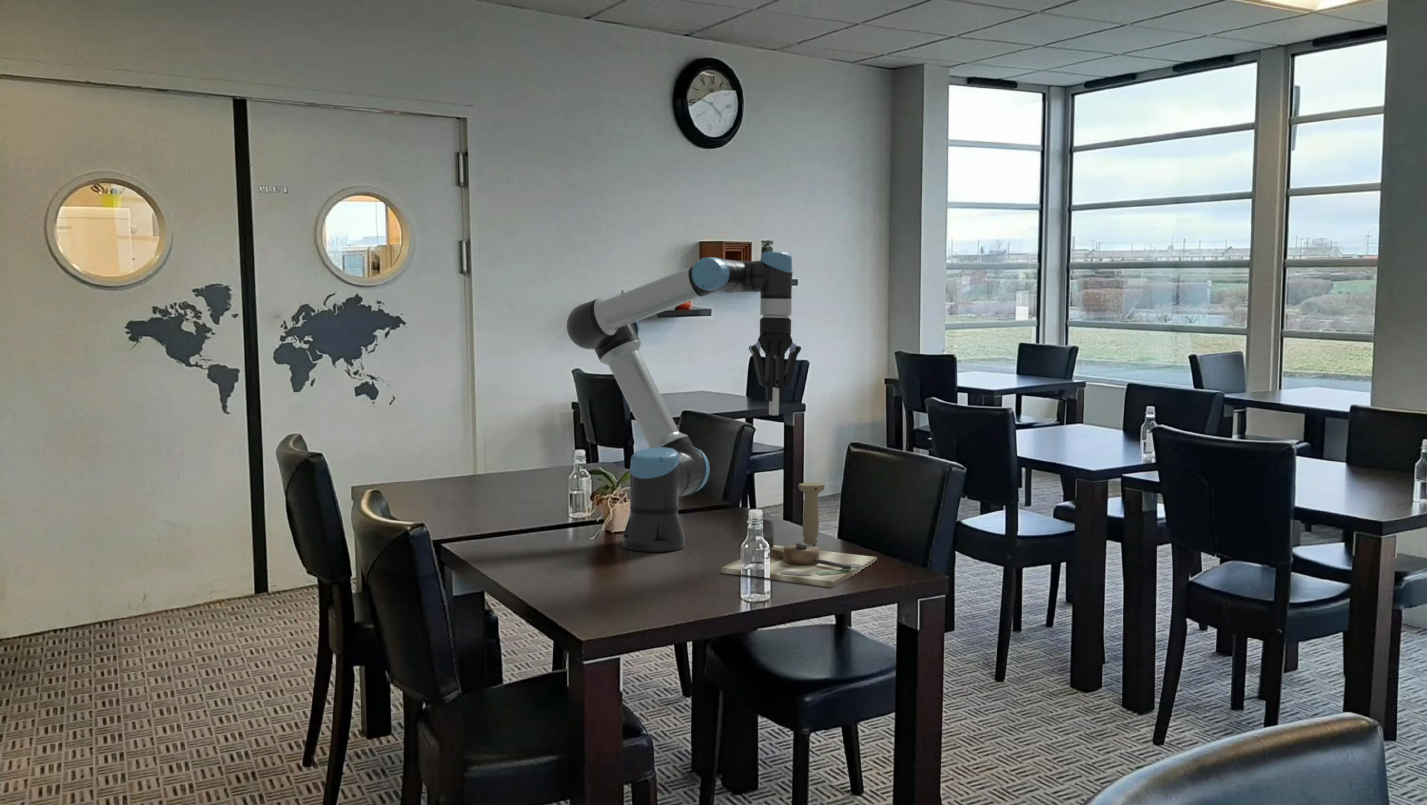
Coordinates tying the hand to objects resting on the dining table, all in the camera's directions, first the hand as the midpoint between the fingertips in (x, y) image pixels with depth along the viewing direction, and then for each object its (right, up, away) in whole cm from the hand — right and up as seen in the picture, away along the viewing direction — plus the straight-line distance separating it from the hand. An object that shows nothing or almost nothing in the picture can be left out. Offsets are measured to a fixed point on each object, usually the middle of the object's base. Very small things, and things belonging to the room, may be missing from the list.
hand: (773, 414), depth 269 cm
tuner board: (+5, -34, -20) cm, 40 cm away
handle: (+9, -32, +6) cm, 34 cm away
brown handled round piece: (+6, -33, -20) cm, 39 cm away
